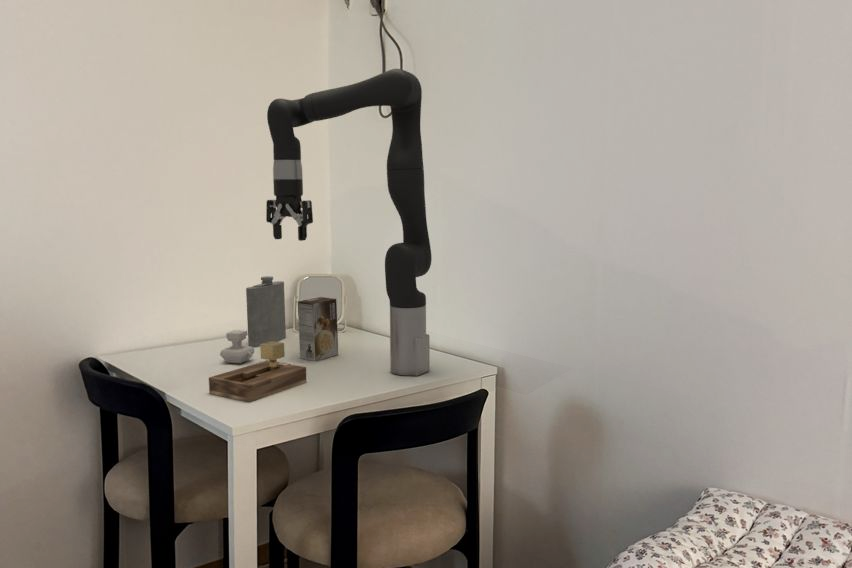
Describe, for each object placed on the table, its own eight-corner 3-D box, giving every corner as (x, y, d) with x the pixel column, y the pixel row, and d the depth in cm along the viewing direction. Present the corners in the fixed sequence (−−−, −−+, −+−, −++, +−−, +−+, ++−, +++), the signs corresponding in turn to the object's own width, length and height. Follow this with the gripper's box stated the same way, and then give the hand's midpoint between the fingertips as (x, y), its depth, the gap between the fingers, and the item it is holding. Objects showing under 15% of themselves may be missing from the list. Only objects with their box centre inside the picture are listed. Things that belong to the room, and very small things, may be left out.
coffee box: (322, 352, 218) (321, 296, 215) (338, 355, 214) (337, 298, 211) (298, 358, 210) (297, 300, 208) (315, 361, 207) (313, 303, 204)
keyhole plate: (306, 382, 186) (306, 366, 186) (249, 402, 171) (248, 384, 170) (267, 374, 193) (267, 359, 193) (209, 393, 178) (208, 376, 177)
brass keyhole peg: (286, 378, 187) (285, 342, 185) (274, 383, 183) (272, 346, 182) (273, 376, 189) (272, 340, 188) (260, 380, 185) (259, 344, 184)
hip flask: (279, 336, 238) (277, 272, 235) (290, 337, 237) (288, 273, 234) (246, 347, 224) (243, 279, 221) (257, 348, 223) (254, 280, 220)
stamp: (216, 363, 205) (215, 333, 204) (230, 358, 211) (229, 328, 210) (245, 366, 202) (244, 335, 201) (258, 360, 208) (257, 330, 207)
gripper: (318, 177, 198) (319, 239, 201) (277, 177, 206) (280, 237, 209) (298, 178, 192) (300, 242, 195) (257, 177, 200) (260, 239, 202)
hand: (289, 239), depth 202 cm, fingers open, 8 cm apart
